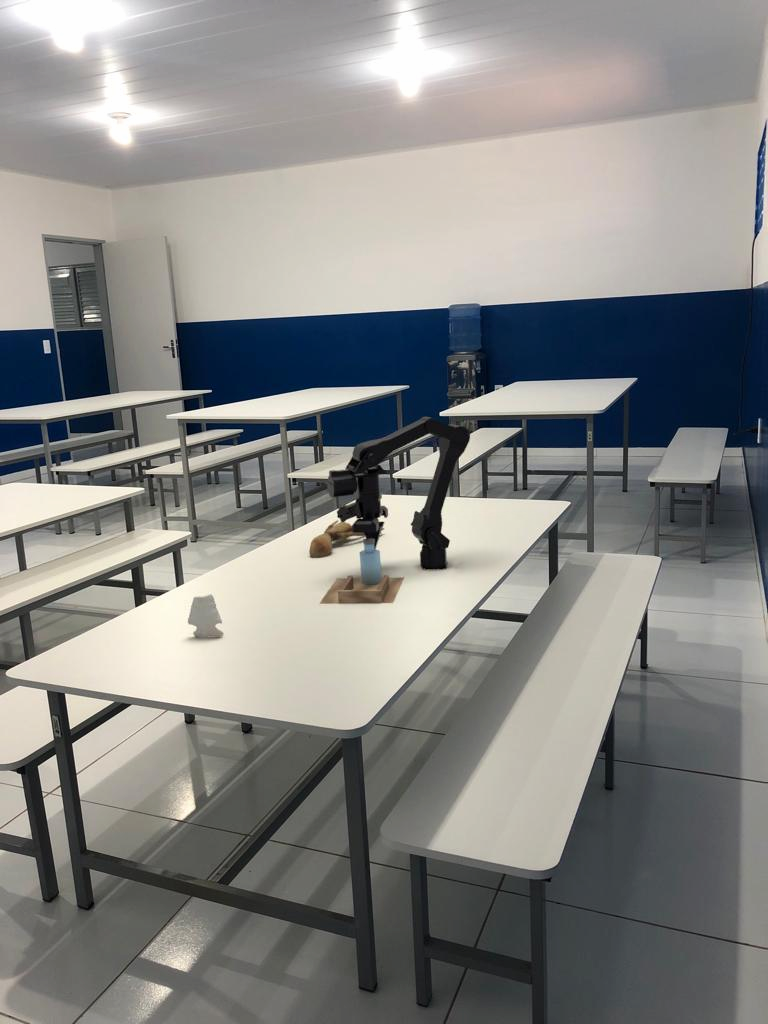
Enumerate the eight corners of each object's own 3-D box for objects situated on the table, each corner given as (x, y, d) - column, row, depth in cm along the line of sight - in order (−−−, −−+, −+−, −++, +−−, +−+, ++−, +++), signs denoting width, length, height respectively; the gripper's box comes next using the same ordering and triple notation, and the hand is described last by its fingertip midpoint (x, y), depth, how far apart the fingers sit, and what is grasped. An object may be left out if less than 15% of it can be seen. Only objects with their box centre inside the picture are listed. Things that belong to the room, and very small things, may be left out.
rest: (404, 579, 219) (403, 566, 218) (393, 605, 200) (392, 590, 199) (337, 580, 222) (336, 567, 222) (319, 605, 203) (318, 591, 202)
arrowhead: (187, 639, 187) (182, 596, 185) (191, 635, 189) (186, 592, 187) (222, 639, 186) (217, 595, 183) (226, 635, 188) (221, 592, 186)
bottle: (383, 578, 219) (380, 536, 217) (380, 584, 214) (377, 542, 212) (363, 578, 220) (360, 537, 218) (360, 585, 215) (356, 542, 213)
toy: (338, 542, 276) (286, 556, 250) (338, 516, 275) (285, 528, 249) (385, 545, 268) (336, 560, 241) (385, 519, 267) (336, 531, 240)
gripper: (346, 486, 227) (350, 542, 231) (330, 501, 209) (334, 561, 213) (386, 485, 225) (390, 541, 229) (374, 499, 207) (378, 560, 211)
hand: (372, 550), depth 220 cm, fingers closed
